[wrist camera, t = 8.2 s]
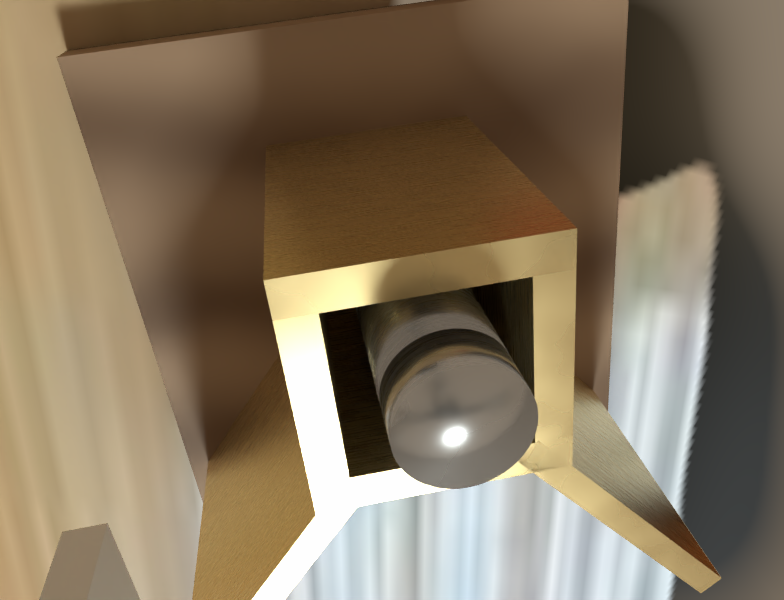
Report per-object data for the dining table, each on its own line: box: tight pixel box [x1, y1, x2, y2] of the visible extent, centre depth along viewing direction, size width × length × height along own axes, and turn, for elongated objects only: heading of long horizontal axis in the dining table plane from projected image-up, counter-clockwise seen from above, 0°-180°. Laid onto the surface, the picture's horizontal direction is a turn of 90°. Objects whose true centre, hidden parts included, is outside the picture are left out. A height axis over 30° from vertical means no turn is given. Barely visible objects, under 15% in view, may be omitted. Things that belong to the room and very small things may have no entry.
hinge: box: [192, 116, 721, 600], centre depth 23 cm, size 13×17×10 cm
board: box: [57, 0, 628, 502], centre depth 27 cm, size 20×18×1 cm
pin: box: [355, 288, 538, 489], centre depth 20 cm, size 3×3×12 cm
